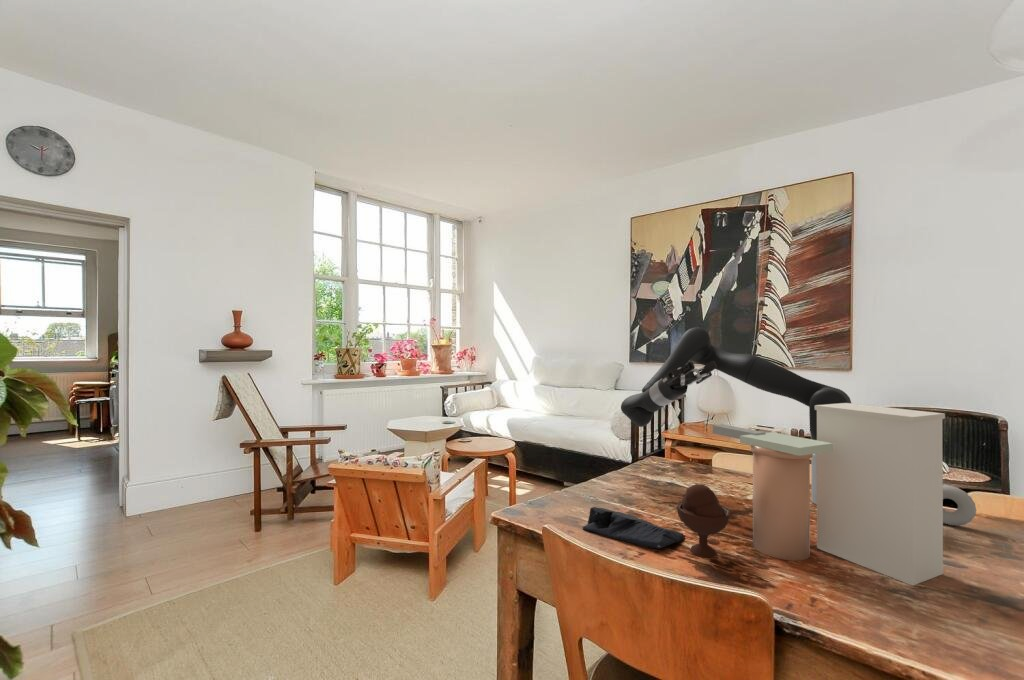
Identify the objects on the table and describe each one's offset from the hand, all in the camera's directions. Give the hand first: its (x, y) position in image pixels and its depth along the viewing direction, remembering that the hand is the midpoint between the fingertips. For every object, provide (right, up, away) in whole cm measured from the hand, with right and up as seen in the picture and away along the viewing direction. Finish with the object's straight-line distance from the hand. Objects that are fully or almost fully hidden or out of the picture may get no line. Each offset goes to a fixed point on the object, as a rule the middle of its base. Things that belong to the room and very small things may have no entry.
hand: (704, 364), depth 131 cm
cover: (+5, -17, -22) cm, 28 cm away
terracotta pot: (+6, -40, -26) cm, 48 cm away
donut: (+58, -41, -11) cm, 72 cm away
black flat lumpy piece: (-24, -41, -17) cm, 50 cm away
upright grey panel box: (+24, -40, -31) cm, 56 cm away
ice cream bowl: (-12, -40, -28) cm, 50 cm away
